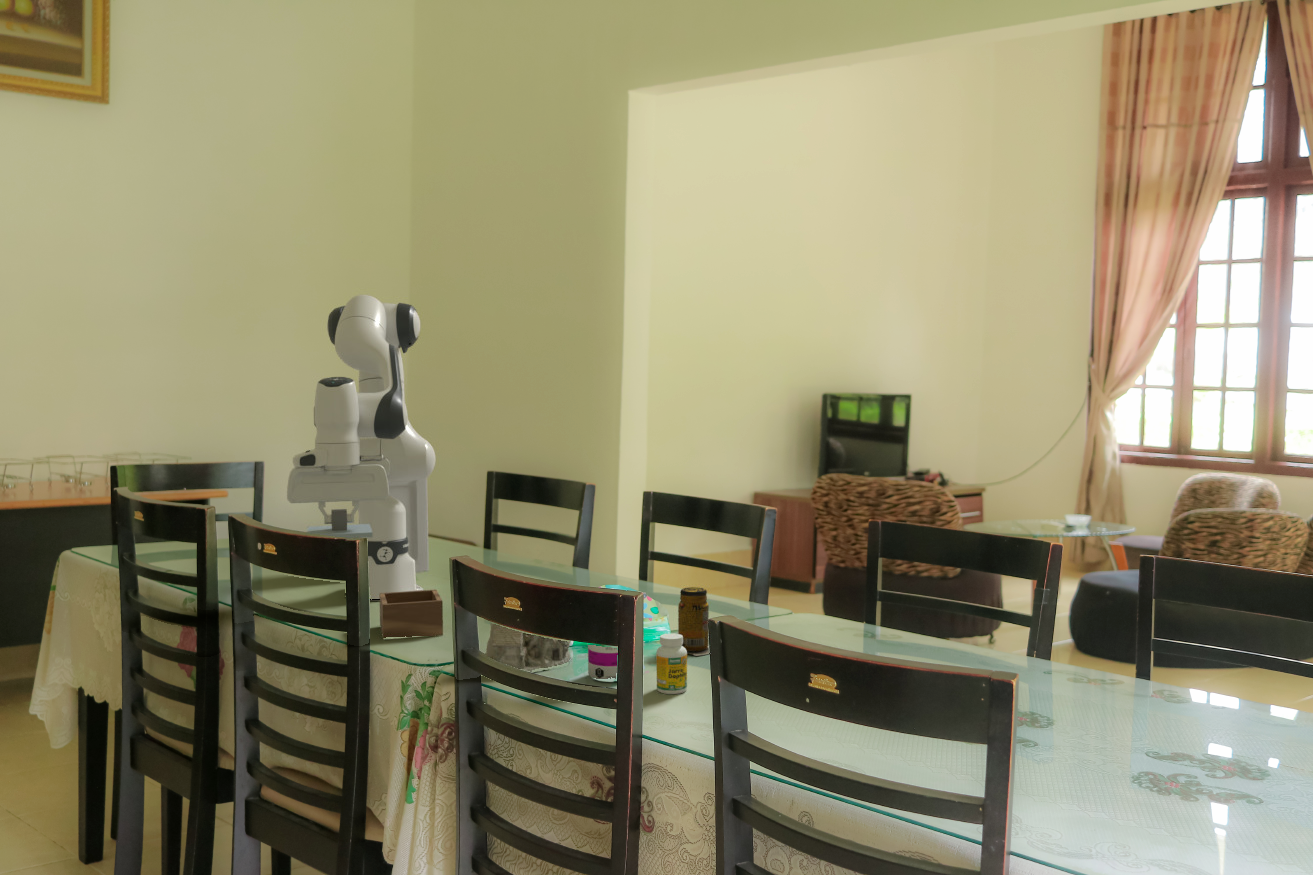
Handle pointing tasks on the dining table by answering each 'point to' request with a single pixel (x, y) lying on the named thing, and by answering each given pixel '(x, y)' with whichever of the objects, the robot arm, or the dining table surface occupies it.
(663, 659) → the supplement bottle
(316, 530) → the lid
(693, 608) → the condiment
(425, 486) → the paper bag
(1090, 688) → the dining table surface
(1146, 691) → the dining table surface
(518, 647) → the ceramic cottage
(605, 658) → the supplement can
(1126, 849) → the dining table surface
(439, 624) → the box
